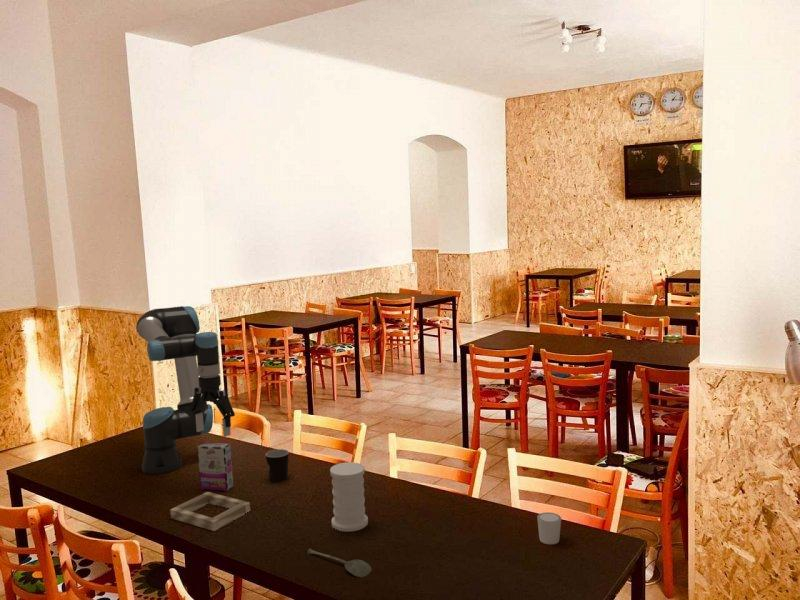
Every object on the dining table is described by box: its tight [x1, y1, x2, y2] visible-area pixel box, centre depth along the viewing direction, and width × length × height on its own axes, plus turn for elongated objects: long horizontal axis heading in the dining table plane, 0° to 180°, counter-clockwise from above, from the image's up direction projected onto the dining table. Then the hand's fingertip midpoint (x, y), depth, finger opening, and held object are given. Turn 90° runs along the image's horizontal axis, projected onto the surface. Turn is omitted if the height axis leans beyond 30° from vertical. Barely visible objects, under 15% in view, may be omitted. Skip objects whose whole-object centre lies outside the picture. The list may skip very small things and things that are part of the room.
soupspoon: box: [307, 548, 372, 578], centre depth 185 cm, size 22×3×7 cm
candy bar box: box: [196, 442, 234, 492], centre depth 240 cm, size 11×5×16 cm, turn 76°
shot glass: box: [536, 512, 562, 545], centre depth 193 cm, size 7×7×7 cm
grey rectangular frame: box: [169, 491, 251, 532], centre depth 218 cm, size 20×16×3 cm
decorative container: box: [329, 461, 369, 533], centre depth 208 cm, size 12×12×18 cm
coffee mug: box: [264, 448, 290, 483], centre depth 248 cm, size 12×9×10 cm
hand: (213, 433), depth 238 cm, fingers open, 13 cm apart
